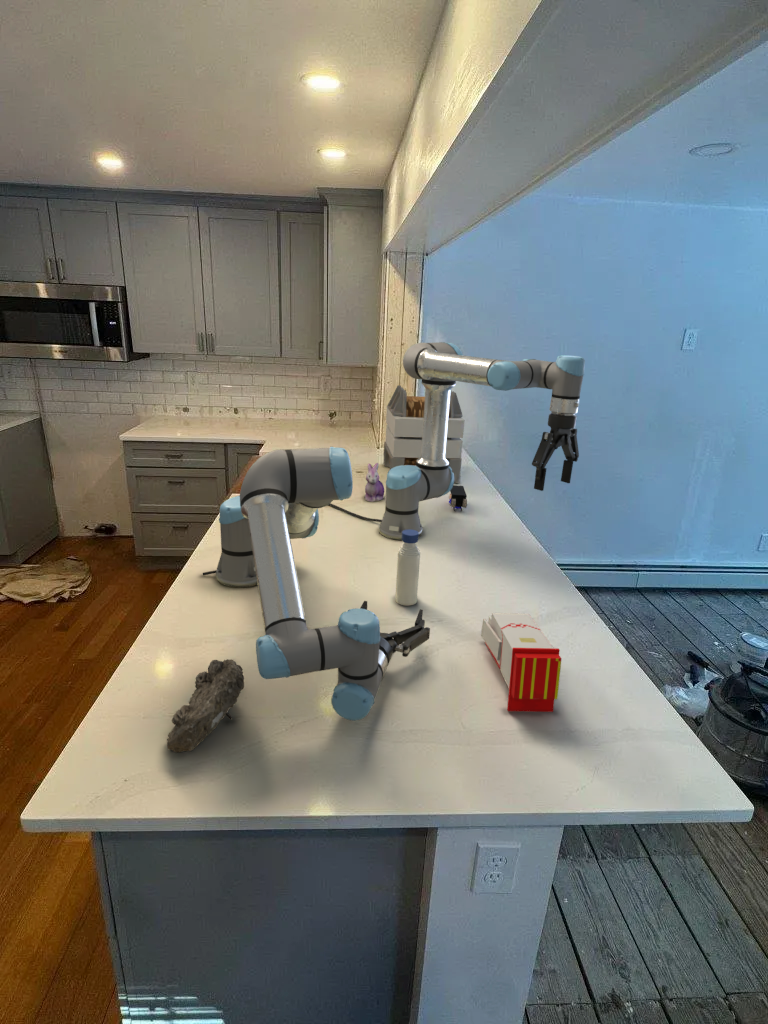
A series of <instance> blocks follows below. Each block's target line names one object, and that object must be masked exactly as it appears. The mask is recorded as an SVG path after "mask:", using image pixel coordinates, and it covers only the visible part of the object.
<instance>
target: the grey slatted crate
mask: <svg viewBox="0 0 768 1024" xmlns="http://www.w3.org/2000/svg"><path fill="white" fill-rule="evenodd" d="M407 394H408V393H407V390H406V389H404V388H403V387H402V385H399V384H398V385H397V386H396V388H395V390H394V392H393V394H392V395H391V398H390V400H389V402H388V404H387V405H386V413H385V414H386V415H385V423H386V428H385V438H384V442H383V466H384V467H388V468H389V470H390V469H392V468H394V467H396V466H401V465H404V466H405V465H413V466H416V461H417V459H418V458H420V457H421V449H422V434H423V419H424V404H425V396H415V395H414V396H413V395H412V396H411V395H407ZM464 429H465V419H464V418H463V411H462V408H461V405H460V402H459V398H458V395H457V392H455V391H453V390H451V392H450V404H449V416H448V428H447V441H446V453H445V458H446V459H447V461H448V462H449V466H450V467H451V469H452V473H454V484H455V483H456V484H459V483H461V472H462V461H463V460H462V453H463V442H464V441H463V440H462V439H463V438H464V431H465V430H464Z"/></svg>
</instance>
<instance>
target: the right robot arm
mask: <svg viewBox="0 0 768 1024" xmlns="http://www.w3.org/2000/svg"><path fill="white" fill-rule="evenodd" d="M585 365H586V360H585V358H584V357H582V356H578V355H566V354H565V355H564V354H563V355H558V356H557V357H556V360H555V361H549V360H541V359H536V358H524V359H521V360H506V359H505V360H504V359H503V360H502V359H496V358H487V357H479V356H471V355H464V354H463V352H462V350H461V349H460V347H459V346H457V345H456V344H455V343H451V342H445V341H443V342H442V341H441V342H440V341H439V342H438V341H437V342H417V343H414V344H412V345H411V346H409V347H408V348H407V350H406V351H405V353H404V355H403V358H402V366H403V369H404V372H405V373H406V374H407V375H408V376H409V377H411V378H412V379H415V380H421V385H422V386H423V387H424V389H425V392H424V397H425V404H424V419H423V434H422V449H421V457H420V458H418V459H417V461H416V466H413V465H401V466H396V467H394V468H392V469H390V468H389V470H388V472H387V474H386V479H385V504H384V505H385V507H384V508H385V509H384V513H383V515H382V519H381V518H380V519H379V518H370V517H366V516H362V515H359V514H357V513H355V512H352V511H349V510H347V509H345V508H343V507H340V506H337V505H335V504H333V503H332V502H331V503H330V504H328V505H327V506H329V507H332V508H334V509H336V510H339V511H341V512H344V513H346V514H348V515H350V516H353V517H355V518H358V519H362V520H365V521H369V522H375V523H376V522H377V523H379V525H378V533H379V534H380V535H381V536H382V537H385V538H387V539H389V540H395V541H402V531H403V530H408V529H411V530H416V531H418V533H419V537H418V538H420V537H421V536H422V535H423V525H422V524H421V518H420V515H419V507H420V506H419V505H420V502H423V501H427V500H431V499H437V498H440V497H443V496H446V495H448V493H450V490H451V489H452V487H453V485H454V484H455V483H454V473H452V469H451V467H450V466H449V462H448V461H447V459H446V458H445V453H446V441H447V428H448V416H449V404H450V392H451V391H452V389H453V388H454V387H455V386H456V384H457V382H461V383H465V384H473V385H479V386H487V387H491V388H492V389H494V390H496V391H503V392H504V391H511V390H520V389H532V388H533V389H534V388H539V389H546V390H551V398H550V404H549V413H548V418H547V419H548V420H547V426H548V427H549V428H550V431H549V432H548V431H543V432H542V435H541V440H540V442H539V445H538V447H537V449H536V452H535V454H534V457H533V460H532V461H531V466H533V467H535V475H534V477H535V478H534V485H533V489H534V490H537V491H539V492H543V491H544V489H545V484H546V483H545V482H546V476H547V468H546V466H547V465H548V463H549V461H550V459H551V457H552V456H553V454H554V453H555V451H556V450H557V449H558V448H560V447H561V449H562V452H563V455H564V458H565V459H563V463H562V468H561V469H562V470H561V475H560V482H562V483H566V484H571V478H572V472H573V466H574V463H576V462H578V461H579V457H580V453H579V444H578V428H576V423H577V419H578V416H577V414H578V412H579V411H578V410H579V406H580V397H581V391H582V385H583V380H584V376H585Z"/></svg>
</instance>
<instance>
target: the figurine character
mask: <svg viewBox="0 0 768 1024" xmlns="http://www.w3.org/2000/svg"><path fill="white" fill-rule="evenodd" d="M467 495H468V494H467V493H466V490H465V487H464V485H456V484H455V485H454V484H453V487H452V489H451V490H450V491H449V496H448V499H449V500H448V504H449V506H450V507H451V508H452V510H453V512H456V510H458V509H459V510H460V512H463V509H464V508H465V509H466V508H467V506H468V499H467V497H468V496H467Z"/></svg>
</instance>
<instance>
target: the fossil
mask: <svg viewBox="0 0 768 1024" xmlns="http://www.w3.org/2000/svg"><path fill="white" fill-rule="evenodd" d="M243 670H244V669H243V667H242V665H240V664H237V662H236V661H235V660H234V659H232V658H231V659H227V658H226V659H224V660H223V661H222V660H217V659H212V660H211V661H210V663H209V665H208V666H207V671H201V672H199V673H198V674H197V675H196V676H195V680H194V684H195V685H194V687H195V689H194V690H193V693H192V694H191V697H190V698H189V700H188V704H184V705H182V706H181V707H180V709H177V710H176V711H175V713H174V715H173V716H172V718H171V723H172V724H173V727H172V730H171V731H170V732H168V734H167V738H166V741H167V742H166V745H167V749H168V750H169V751H173V752H174V753H176V754H178V753H182V752H188V751H189V752H192V751H193V750H195V748H196V747H197V746H199V744H200V743H201V742H203V741H204V740H205V739H206V738H207V737H208V736H209V735H210V734H211V733H212V732H214V730H215V729H217V727H218V726H219V724H220V722H221V721H222V720H223V719H224V718H225V716H226V717H227V719H229V720H233V717H232V715H230V714H229V710H230V709H231V708H234V706H235V704H236V703H237V702H238V699H239V697H240V695H241V693H242V691H243V690H245V689H244V688H245V675H244V671H243Z"/></svg>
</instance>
